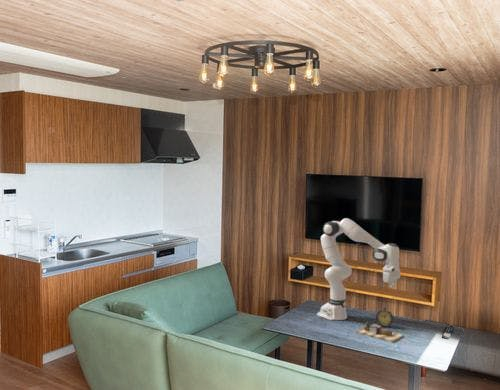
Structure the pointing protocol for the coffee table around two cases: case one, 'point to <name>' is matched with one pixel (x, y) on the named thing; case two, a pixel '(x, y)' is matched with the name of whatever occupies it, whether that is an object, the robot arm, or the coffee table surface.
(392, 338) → the base board
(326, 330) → the coffee table surface
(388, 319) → the alarm clock
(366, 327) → the link
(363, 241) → the robot arm
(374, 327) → the keeper
